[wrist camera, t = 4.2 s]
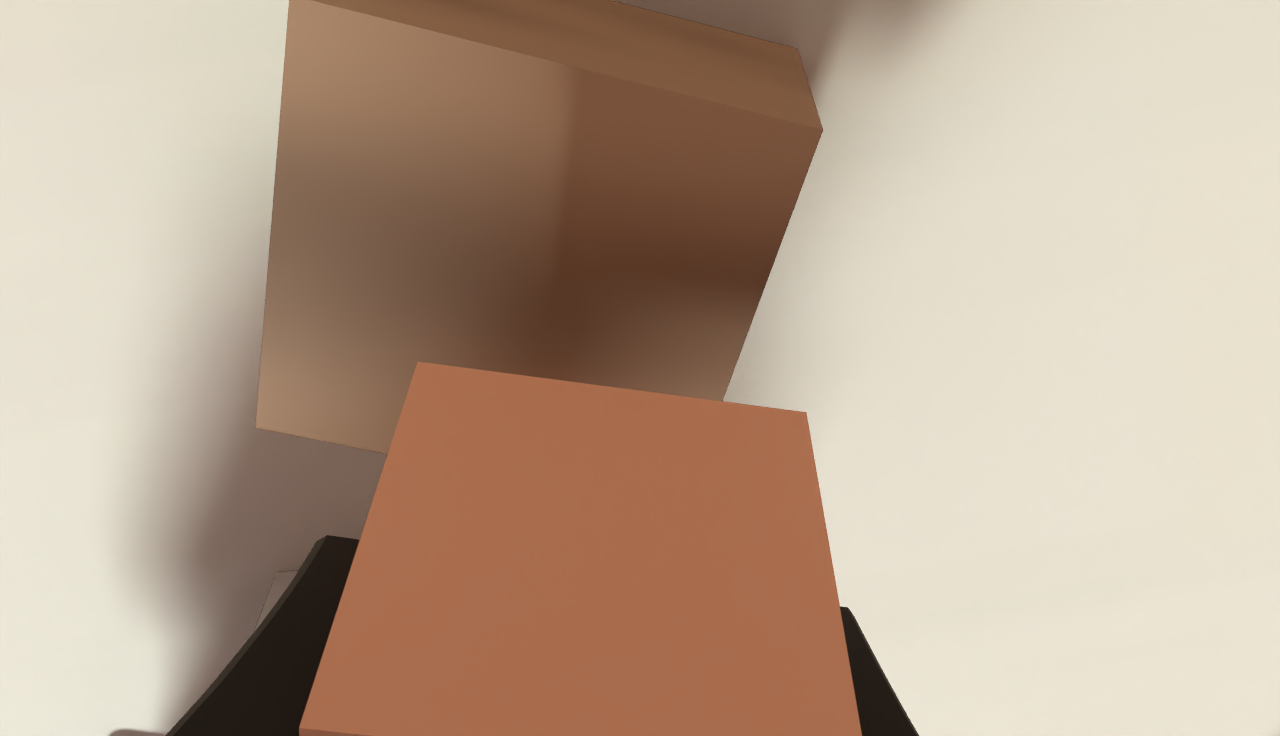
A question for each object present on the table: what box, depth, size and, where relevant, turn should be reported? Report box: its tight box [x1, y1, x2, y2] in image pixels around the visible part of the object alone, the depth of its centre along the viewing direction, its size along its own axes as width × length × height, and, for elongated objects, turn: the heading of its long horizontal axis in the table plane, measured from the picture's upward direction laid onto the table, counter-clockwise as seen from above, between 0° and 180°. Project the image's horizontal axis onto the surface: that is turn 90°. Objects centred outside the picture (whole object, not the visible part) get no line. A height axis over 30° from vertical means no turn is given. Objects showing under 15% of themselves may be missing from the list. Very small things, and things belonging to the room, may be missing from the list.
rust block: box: [299, 362, 862, 736], centre depth 12 cm, size 4×4×5 cm
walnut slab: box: [255, 0, 823, 454], centre depth 18 cm, size 7×7×4 cm
